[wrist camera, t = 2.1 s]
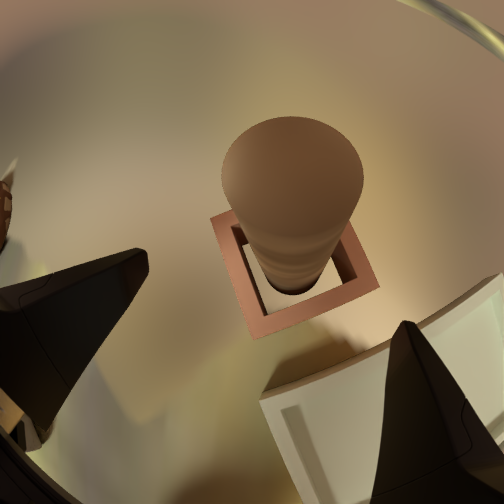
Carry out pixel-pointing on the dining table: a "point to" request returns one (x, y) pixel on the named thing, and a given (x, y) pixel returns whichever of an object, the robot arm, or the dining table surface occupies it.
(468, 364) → the tray
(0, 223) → the donut
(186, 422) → the dining table surface
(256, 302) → the square frame
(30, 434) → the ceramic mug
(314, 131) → the dowel
